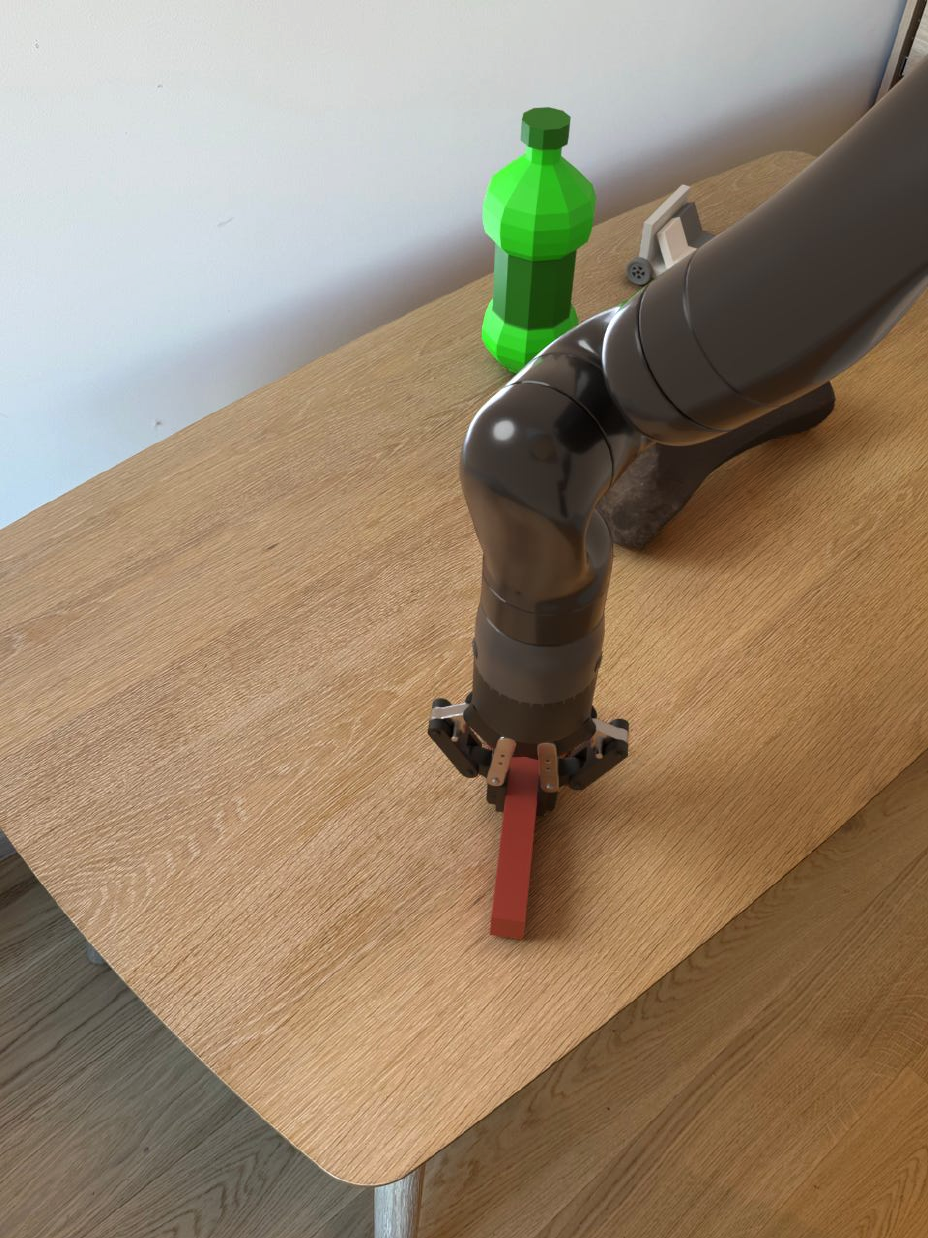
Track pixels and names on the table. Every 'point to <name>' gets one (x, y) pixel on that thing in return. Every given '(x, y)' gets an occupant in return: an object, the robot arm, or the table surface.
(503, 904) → the red flat paddle piece
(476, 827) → the table surface
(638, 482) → the dark brown bone
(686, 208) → the toy car
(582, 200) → the plastic bottle
